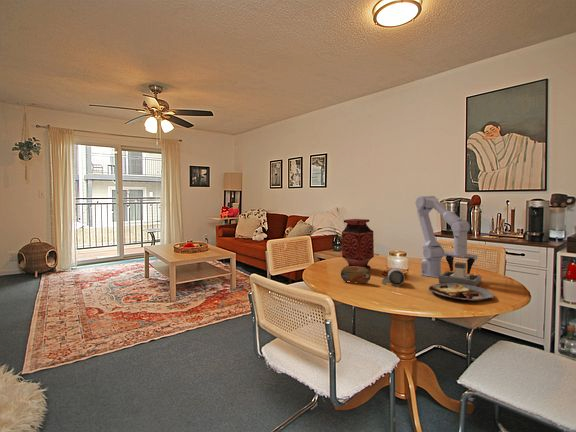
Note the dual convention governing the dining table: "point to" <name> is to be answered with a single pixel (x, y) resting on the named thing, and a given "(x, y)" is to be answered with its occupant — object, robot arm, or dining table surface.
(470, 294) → the food plate
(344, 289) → the dining table surface
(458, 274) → the block
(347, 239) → the vase
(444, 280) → the caddy
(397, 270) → the ceramic mug
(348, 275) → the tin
